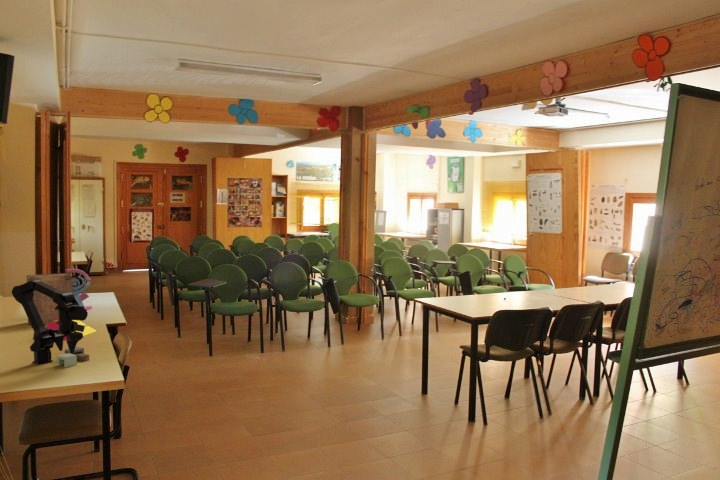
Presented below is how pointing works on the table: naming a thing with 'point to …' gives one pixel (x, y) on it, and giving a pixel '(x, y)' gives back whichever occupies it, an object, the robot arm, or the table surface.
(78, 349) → the charcoal end cap
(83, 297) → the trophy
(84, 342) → the table surface
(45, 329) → the robot arm
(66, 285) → the book
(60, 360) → the sage green end cap
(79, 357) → the walnut rail
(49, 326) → the pyramid toy
